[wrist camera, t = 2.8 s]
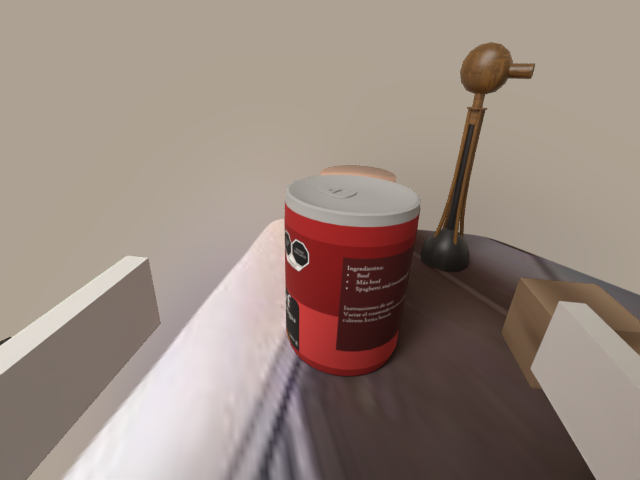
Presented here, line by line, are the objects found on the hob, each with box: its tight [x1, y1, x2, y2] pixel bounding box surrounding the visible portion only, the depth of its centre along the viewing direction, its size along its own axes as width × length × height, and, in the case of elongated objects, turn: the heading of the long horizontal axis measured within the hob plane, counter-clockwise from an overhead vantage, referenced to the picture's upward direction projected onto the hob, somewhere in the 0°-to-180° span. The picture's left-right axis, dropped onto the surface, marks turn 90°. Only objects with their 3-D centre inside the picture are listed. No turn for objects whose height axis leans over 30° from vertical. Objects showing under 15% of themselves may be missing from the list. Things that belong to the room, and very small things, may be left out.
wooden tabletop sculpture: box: [421, 42, 535, 271], centre depth 31 cm, size 6×5×20 cm
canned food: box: [285, 175, 421, 376], centre depth 22 cm, size 8×8×11 cm
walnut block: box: [501, 278, 640, 389], centre depth 22 cm, size 5×5×5 cm
